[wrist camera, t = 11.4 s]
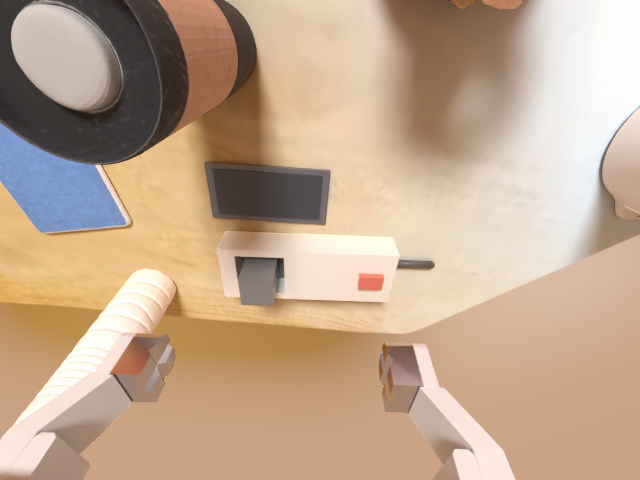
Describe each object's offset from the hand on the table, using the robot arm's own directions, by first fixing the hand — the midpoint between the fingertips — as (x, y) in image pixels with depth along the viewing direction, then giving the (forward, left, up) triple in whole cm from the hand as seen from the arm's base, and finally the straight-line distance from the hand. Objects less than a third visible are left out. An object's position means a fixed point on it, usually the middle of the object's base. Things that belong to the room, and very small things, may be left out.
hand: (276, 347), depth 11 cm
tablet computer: (+29, +2, -26) cm, 39 cm away
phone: (+4, +6, -26) cm, 27 cm away
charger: (+5, +15, -24) cm, 29 cm away
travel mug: (+8, -9, -25) cm, 28 cm away
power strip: (-4, +15, -25) cm, 30 cm away
